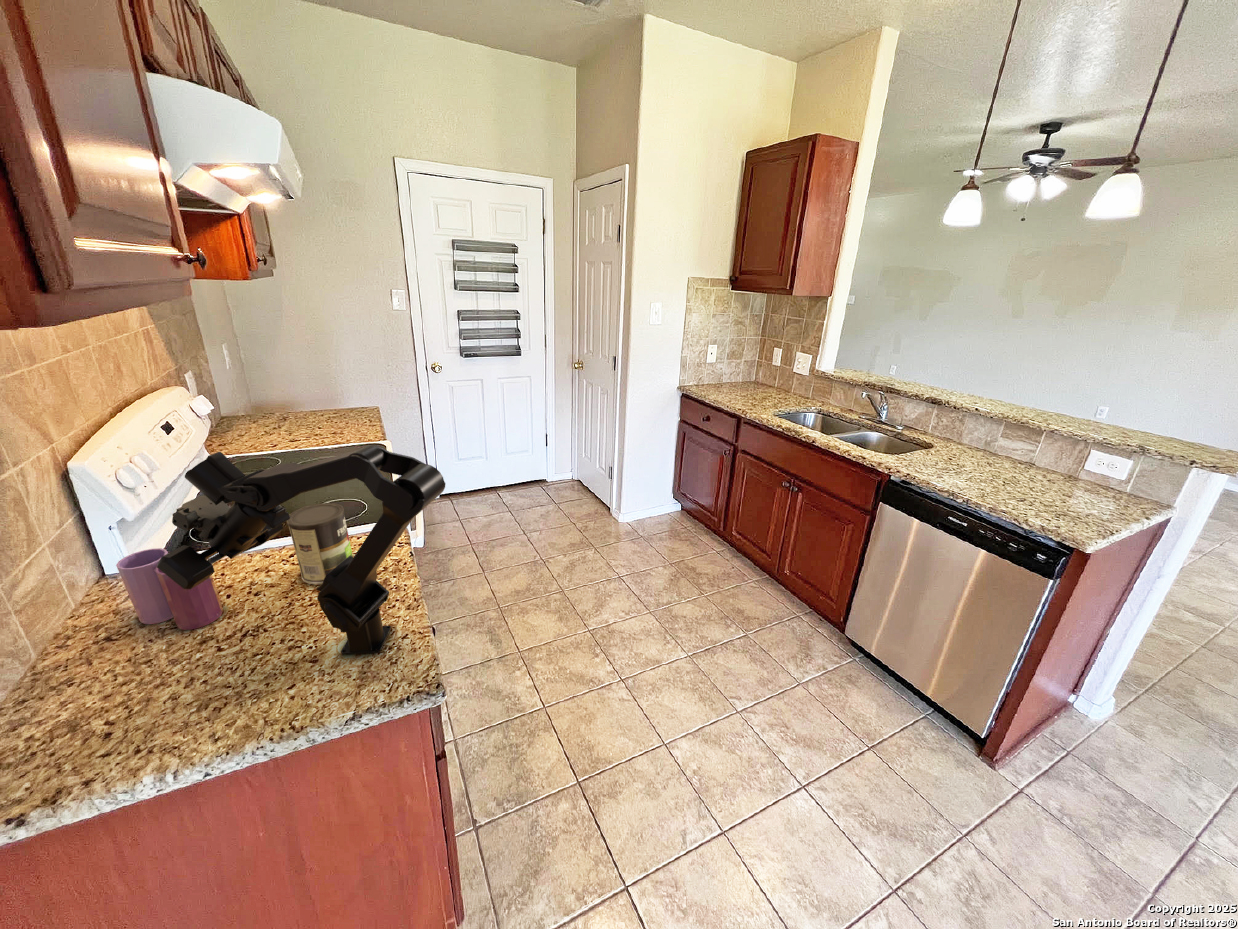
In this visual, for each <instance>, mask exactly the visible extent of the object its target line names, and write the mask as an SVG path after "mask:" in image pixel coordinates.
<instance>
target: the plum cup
mask: <svg viewBox="0 0 1238 929" xmlns="http://www.w3.org/2000/svg"><path fill="white" fill-rule="evenodd" d="M198 553H199V552H198ZM199 554H201V552H200V553H199ZM155 572H156V575H157V577H158V580H159V582H160V585H161V587H162V590H163V592H164V595H165V598H166V600H167V603H168V605H169V608H170V610H171V613H172V616H173V618H172V619H173V621H174V623H175V625H176V627H177V628H178V629H179V630H183V631H184V630H185V631H187V630H188V631H189V630H196V629H199V628H203V627H205V626H208V625H209V624H211V623H213V622H215V621H216V620H218V619H219V618H220V617H221V616H222V614H223V613H224V608H223V604H222V601H221V599H220V595H219V593H218V590H217V587H216V584H215V581H214V579H213V578H214V577H213V574H212V575H211V576H210V578H208V579H207V580H205V581H203V582H202V583H200V584H199V585H197V586H195V587H194V588H192V589H183V588H182V587H181V586H179V585H178V584H177V583H176V582H174V581H173V580H172V579H171V578H170V577H168V576H167V575H166V574H165V573H163V572H162V571H161V570H160V569H158V568H157V567H156V569H155Z"/></svg>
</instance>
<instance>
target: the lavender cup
mask: <svg viewBox="0 0 1238 929" xmlns="http://www.w3.org/2000/svg"><path fill="white" fill-rule="evenodd" d="M168 553H169V551H168V550H167V549H165V548H161V547H160V548H156V547H155V548H148V549H143V550H140V551H137V552H133V553H131V554H129V555H126V556H124V557H122V558H121V559H119V560H118V561H117V563H116V564H115V566H116V569H117V571H118V573H119V576H120V578H121V580H122V583H123V586H124V587H125V590H126V593H127V594H128V597H129V599H130V602H131V604H132V606H133V610H134V611H135V614H136V616H137V619H138V620H139V622H140V623H142V624H145V625H154V624H159V623H164V622H166V621H170V620H171V619H174V618H173V616H172V613H171V610H170V608H169V605H168V603H167V600H166V598H165V595H164V592H163V590H162V587H161V585H160V582H159V580H158V577H157V575H156V572H155V569H156V567H157V563H158V561H159V560H160V559H161V557H162V556H164V555H166V554H168Z"/></svg>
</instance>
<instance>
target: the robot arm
mask: <svg viewBox="0 0 1238 929" xmlns="http://www.w3.org/2000/svg"><path fill="white" fill-rule="evenodd" d="M381 472H383V473H386V474H392V475H397V476H399V477H398V478H396V479H394V480H393V481H392V480H390V479H388V478H386V477H385V476H384V475H383V473H381ZM184 479H185V480H187V481H188V482H189V483H190V484H191V485H192V486H193V487H195V488H196V489H197V490H198V491H199V492H200V493H201V494H202V495H199V496H197V497H195V498H193V499H191V500H189V501H186V502H184V503H182V505H181V506H180V507H178V508H176V510H175V512H174V513H172V519H171V523H172V525H173V526H175V527H177V528H179V529H180V530H182V531H185V532H188V531H190V530H192V529H195V530H197V531H200V533H199V535H198V537H199V538H200V539H202V540H203V541H204V542H206V541H208V545H209V548H207V549H206V550H204V551H202V552H200V554H199V552H198V551H197V550H195V549H194V548H193V547H191V546H190V545H181V546H179V547H177V548H176V549H174V550H172V551H170V552H168V554H166V555H164V556H162V557H161V559H160V560H159V561H158V563H157V568H158V569H160V570H161V571H162V572H163V573H165V574H166V575H167V576H168V577H170V578H171V579H172V580H173V581H174V582H176V583H177V584H178V585H179V586H181V587H182V588H183V589H192V588H194V587H195V586H197V585H199V584H200V583H202V582H203V581H205V580H207V579H208V578H210V576H211V575H212V576H213V574H214V573H215V567H214V564H215V563H217V562H219V561H220V560H222V559H224V558H225V557H228V559H230V560H232V559H234V558H235V557H238V556H239V555H241V554H243V553H245V552H248V551H250V550H252V549H255V548H257V547H260V546H262V545H263V544H265V543H267V542H269V541H271V539H274V538H275V537H276V536H278V535H279V534H280V533H281V532H282V531H283V530H284V526H283V524H285V523H287V520H289V519H290V516H289V515H290V513H289V512H288V511H287V509H286V507H285V506H282V504H285V503H286V502H287V501H290V500H291V499H293V498H295V497H297V496H298V495H300V494H304V493H307V492H310V491H315V490H318V489H322V488H326V487H330V486H333V485H338V484H341V483H345V482H349V481H353V480H358V481H360V482H362V483H363V484H364V485H365V486H366V488H367V489H368V490H369V492H370V493H371V494H372V496H373V497H374V498H375V499H377V500H379V501H381V505H382V506H381V507H382V514H381V515H380V517H379V519H378V520H377V521H376V523H375V524H374V526H373V528H372V529H371V530H370V532H369V533H368V534H367V535H366V536H367V537H366V538H365V539H364V541H363V542H362V544H361V545H360V546H359V548H358V550H357V551H356V553H355V554H354V555H353V557H352V556H351V555H350V556H349V557H348V558H346V559H345V560H344V561H343V562H341V563H340V564H339V565H338V566H336V567H335V568H334V569H333V570H331V571H330V572H329V573H328V574H327V575H326V577H325V578H324V581H323V584H319V586H318V587H317V588H316V589H315V590H316V591H317V592H318V594H317V595H316V596H317V601H318V602H319V608H320V609H321V611H322V612H323V614H324V616H325V618H326V619H327V620H328V622H329V624H330V625H331V627H332V628H333V629H338V630H339V631H340V633H345V635H346V638H347V639H346V642H345V643H344V646H343V647H342V648H341V651H340V654H341V655H342V656H349V655H350V656H351V655H352V656H353V655H368V654H379V653H381V652H382V650H383V647H384V645H385V644H386V641H387V639H388V637H389V635H390V633H391V631H392V626H391V625H384V624H383V621H382V615H381V608H380V607H381V606H383V604H384V603H386V602H387V601H388V600H389V596H390V590H388V589H387V588H386V587H384V585H382V584H381V583H380V582H379V581H378V573H377V571H378V569H379V567H380V566H381V565H382V563H383V562H384V561H385V559H386V558H387V556H388V555H389V554H390V552H391V550H392V549H393V548H394V546H395V545H396V543H397V542H398V540H399V539H400V538H401V536H402V535H403V534H404V532H405V531H406V529H407V528H408V526H409V525H410V524H411V522H412V521H413V519H414V518H415V517H416V516H418V515H419V514H420V513H421V512H422V511H424V509H425V508H427V507H428V506H429V505H430V504H431V503H432V502H434V500H435V499H437V498H438V497H439V496H440V495H441V494H443V492H444V491H445V488H446V482H445V479H444V476H443V475H442V473H441V472H440V471H439V469H437V468H436V467H435V466H433V465H431V464H428V463H424V462H423V461H421V460H419V459H417V458H415V457H413V456H409V455H405V454H400V453H396V452H392V451H389V450H387V449H386V448H383V447H382V446H380V445H377V444H368V445H367V444H366V445H365V446H364V447H362V448H360V449H359V448H358V449H356V450H352V451H349V452H346V453H342V454H338V455H335V456H331V457H327V458H325V459H320V460H317V461H314V462H310V463H307V464H306V463H305V464H301V463H300V464H299V463H296V462H288V463H278V464H276V465H273V466H271V467H269V468H261V469H257V470H256V471H254V472H251V473H249V474H245V473H244V472H242V471H241V469H239V468H238V467H237V466H236V465H235V464H234V463H232V462H231V461H230V460H229V459H228V456H226V455H225V454H224V453H223V452H222V451H217V452H215V453H212V454H209V455H207V457H206V458H205V459H204V460H202V461H200V462H199V463H198V464H196V465H195V466H193V467H192V468H190V469H189V470H187V471H186V472H185V474H184ZM232 502H234V503H233V504H232V505H231V506H229V505H228V504H230V503H232Z"/></svg>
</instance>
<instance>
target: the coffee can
mask: <svg viewBox="0 0 1238 929" xmlns="http://www.w3.org/2000/svg"><path fill="white" fill-rule="evenodd" d="M289 516H290V519H289V520H287V521H286V524H287V526H288V530H289V533H290V536H291V541H292V545H293V549H294V552H295V556H296V560H297V564H298V567H299V571H300V575H301V580H302V581H303V582H304V583H306V584H308V585H315V586H316V585H322V584H323V581H324V578H325V577H326V575H327V574H328V573H329V572H330V571H331V570H333V569H334V568H335V567H336V566H338V565H339V564H340V563H341V562H343V561H344V560H345V559H346V558H348V557H349V556H350V555H351V556H352V557H354V555H353V551H352V546H351V541H350V536H349V531H348V526H347V522H346V517H345V509H344V507H343V505H341V504H338V503H333V502H322V503H315V504H310V505H306V506H303V507H300V508H298V509H296V510H294V511H293V512H291V513H289Z"/></svg>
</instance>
